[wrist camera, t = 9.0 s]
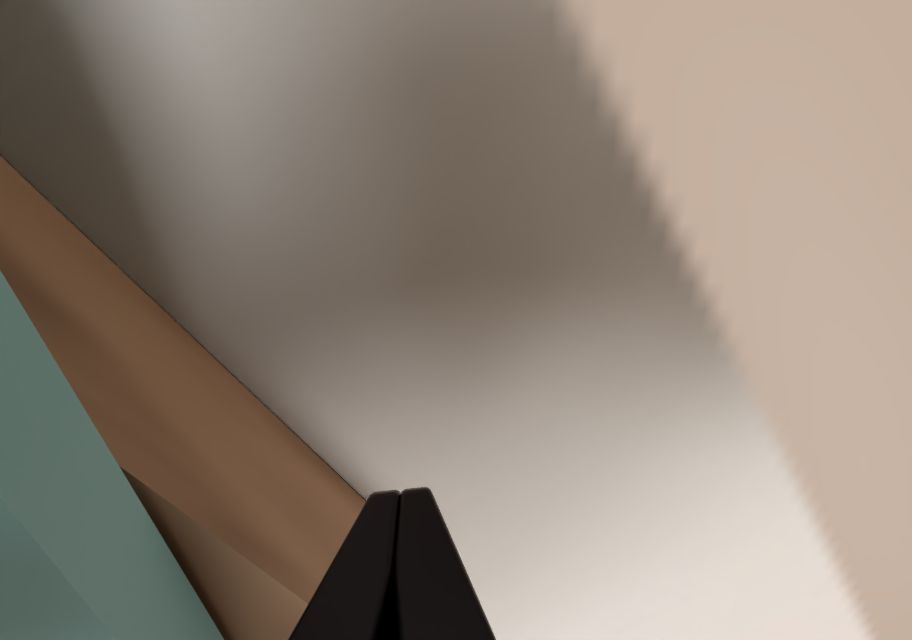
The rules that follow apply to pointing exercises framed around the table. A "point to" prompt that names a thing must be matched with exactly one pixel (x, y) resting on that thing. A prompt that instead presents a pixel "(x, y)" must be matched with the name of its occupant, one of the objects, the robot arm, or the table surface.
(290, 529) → the wooden box
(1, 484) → the duct cover
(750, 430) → the table surface
